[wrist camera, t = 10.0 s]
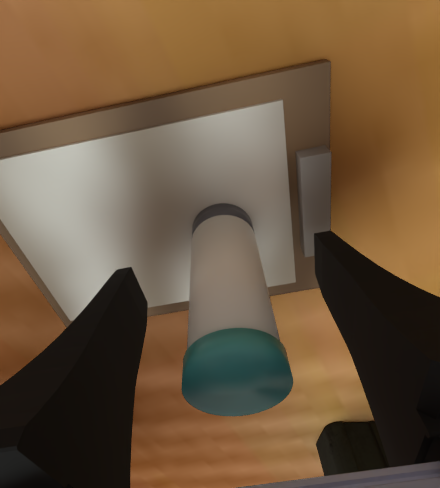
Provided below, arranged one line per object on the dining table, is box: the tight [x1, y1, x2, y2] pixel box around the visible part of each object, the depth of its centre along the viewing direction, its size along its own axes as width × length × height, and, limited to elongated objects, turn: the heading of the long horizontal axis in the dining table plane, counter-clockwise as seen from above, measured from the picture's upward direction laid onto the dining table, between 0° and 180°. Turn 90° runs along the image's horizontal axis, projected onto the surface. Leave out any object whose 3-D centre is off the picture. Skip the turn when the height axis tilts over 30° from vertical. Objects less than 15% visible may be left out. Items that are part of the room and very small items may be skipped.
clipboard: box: [0, 59, 331, 327], centre depth 15 cm, size 15×11×1 cm
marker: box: [182, 203, 293, 416], centre depth 12 cm, size 3×3×8 cm
